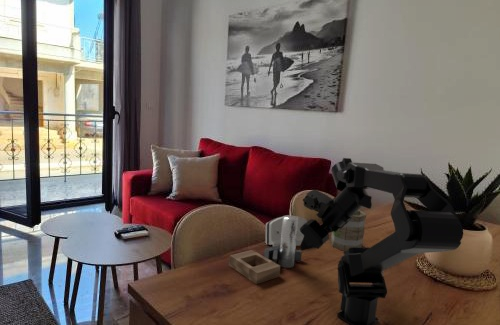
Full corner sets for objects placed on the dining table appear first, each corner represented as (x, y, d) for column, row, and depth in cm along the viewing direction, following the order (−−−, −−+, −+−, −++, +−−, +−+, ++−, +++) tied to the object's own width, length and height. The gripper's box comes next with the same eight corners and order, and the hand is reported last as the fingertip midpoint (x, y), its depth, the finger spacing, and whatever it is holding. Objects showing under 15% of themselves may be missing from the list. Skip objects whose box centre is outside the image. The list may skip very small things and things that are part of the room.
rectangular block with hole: (279, 276, 89) (280, 265, 89) (256, 284, 84) (257, 273, 84) (251, 259, 99) (252, 249, 98) (228, 265, 94) (229, 255, 93)
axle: (297, 265, 97) (301, 218, 95) (286, 269, 94) (290, 221, 92) (286, 259, 100) (290, 214, 98) (275, 263, 97) (279, 216, 95)
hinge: (273, 249, 107) (269, 217, 109) (265, 249, 111) (262, 218, 113) (313, 243, 115) (310, 213, 117) (305, 242, 119) (301, 214, 121)
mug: (369, 250, 112) (373, 216, 111) (342, 253, 108) (346, 217, 107) (340, 234, 127) (344, 203, 125) (315, 235, 123) (319, 204, 121)
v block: (302, 261, 100) (303, 251, 100) (273, 270, 93) (274, 260, 92) (285, 252, 106) (286, 243, 105) (256, 260, 98) (257, 250, 98)
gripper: (337, 172, 90) (305, 208, 99) (302, 191, 76) (269, 231, 85) (368, 202, 86) (333, 237, 95) (338, 228, 72) (300, 266, 81)
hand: (309, 241), depth 89 cm, fingers open, 9 cm apart
